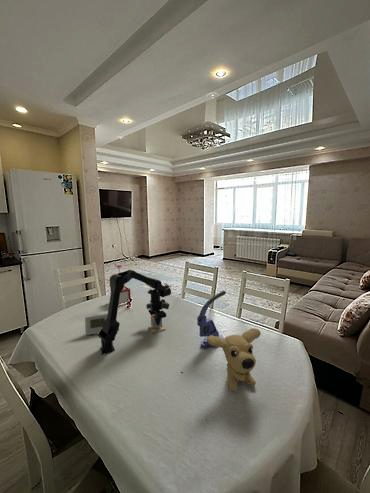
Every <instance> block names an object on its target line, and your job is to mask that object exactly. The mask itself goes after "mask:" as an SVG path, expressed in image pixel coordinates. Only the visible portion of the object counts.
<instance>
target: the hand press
mask: <svg viewBox="0 0 370 493" xmlns="http://www.w3.org/2000/svg"><path fill="white" fill-rule="evenodd" d="M226 292H227V291H226V290H222V291H219V292H218V293H217V294H215V295H213V296H212V297H211V298H210V299H208V300H207V301H206V303H204V304H203V306H202V308H201V309H200V312H199V315H198V316H197V318H196V319H197V321H196V322H197V326H198V327H199V336H200V337H201V338H203V337H204V338H203V339H202V340H201V341H200V348H201V349H204V350H207V349H210V348H214V349H216V348H217V347H218V346H212V345H210V344H209V343H208V342H207V337H209V336H210V335H212V336H217V337H220V338H223V339H224V338H225V337H224V336H223V335H221V334H220V333H219V330H218V329H217V326H216V325H215V323H214V321H213V319H211V318H209V317H207V315H206V313H207V311H208V309H209V307H210V305H212V303H213V302H215V301H216V300H217V299H219V298H220V297H223V296H225V295H226ZM218 348H219V347H218Z"/></svg>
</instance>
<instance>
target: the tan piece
mask: <svg viewBox="0 0 370 493" xmlns="http://www.w3.org/2000/svg"><path fill="white" fill-rule="evenodd" d="M147 328H148V329H149V331H150V332H151V333H152V334H155V333H159V332H163V331H165V330H166V328H165V327H164V326H163V325H162V327H158V328H153V327H152V325H151V324H150V325H148V327H147Z"/></svg>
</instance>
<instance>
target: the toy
mask: <svg viewBox="0 0 370 493" xmlns="http://www.w3.org/2000/svg"><path fill="white" fill-rule="evenodd" d="M260 336H261V330H260V329H259V328H253V327H252V328H249V329H248V330H247V331H244V332H243V333H242V334H241V335H240V334H231V335H227V336H226V337H224V339H223V338H220V337H217V336H212V335H210V336H209V337H207V336H206V337H207V342H208V343H209V344H210V345H212V346H218V348H222V351H223V354H224V355H225V360H226V362H227V363H226V372H227V374H226V375H227V385H228V388H229V389H230V391H232V392H235V391H236V390H237V388H238V387H237V386H238V385H237V384H238V383H237V382H243V383H246V384H248V385H249V386H251V387H255V386H256V384H257V382H256V380H255V379H254V377H253V376H252V374H251V371H252V370H254V368H255V367H256V364H257V362H256V357H255V356H254V354H253V350H254V346H253V344H252V343H253V341H255V340H257V339H258V338H259V337H260Z"/></svg>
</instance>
